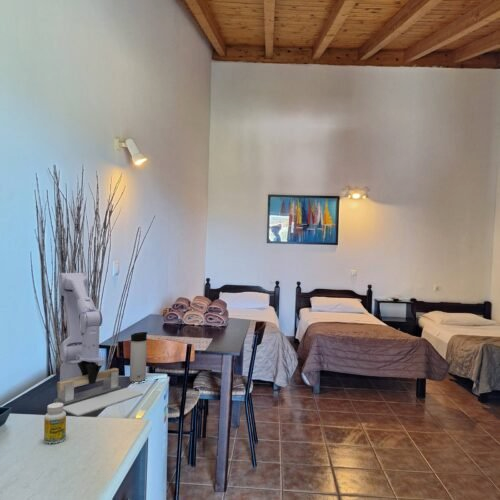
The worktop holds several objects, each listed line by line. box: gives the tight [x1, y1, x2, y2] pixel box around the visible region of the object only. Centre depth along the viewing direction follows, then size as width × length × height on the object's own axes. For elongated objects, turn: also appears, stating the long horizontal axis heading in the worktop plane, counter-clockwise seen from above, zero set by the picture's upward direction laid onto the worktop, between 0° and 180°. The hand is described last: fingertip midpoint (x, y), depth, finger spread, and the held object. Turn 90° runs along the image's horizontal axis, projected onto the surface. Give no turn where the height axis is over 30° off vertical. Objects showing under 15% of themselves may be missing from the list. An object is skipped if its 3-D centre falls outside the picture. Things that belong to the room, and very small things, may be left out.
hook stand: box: [53, 371, 122, 407], centre depth 146 cm, size 6×23×7 cm, turn 145°
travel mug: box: [129, 331, 148, 384], centre depth 164 cm, size 6×7×20 cm
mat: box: [63, 387, 144, 417], centre depth 141 cm, size 10×26×1 cm, turn 145°
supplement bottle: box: [43, 402, 67, 445], centre depth 111 cm, size 5×5×10 cm
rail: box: [56, 367, 120, 391], centre depth 146 cm, size 2×23×2 cm, turn 145°
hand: (89, 382), depth 146 cm, fingers open, 3 cm apart
